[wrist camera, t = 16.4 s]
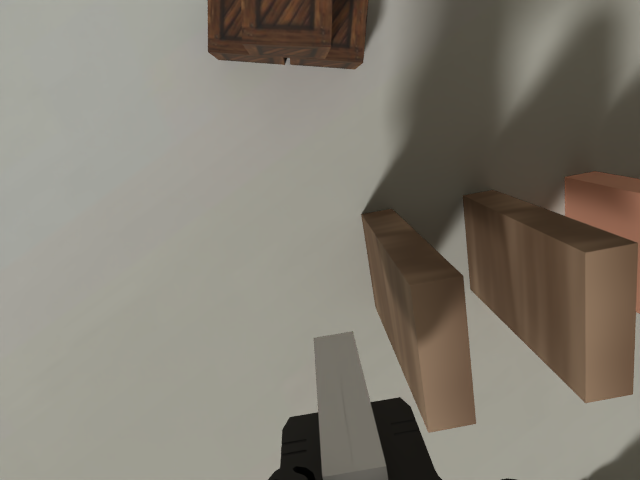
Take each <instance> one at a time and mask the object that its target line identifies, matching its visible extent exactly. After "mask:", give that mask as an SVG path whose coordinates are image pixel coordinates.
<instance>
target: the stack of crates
mask: <svg viewBox="0 0 640 480" xmlns="http://www.w3.org/2000/svg"><path fill="white" fill-rule="evenodd" d="M367 10H368V0H208V52H209V53H210V54H212V55H213V56H214V57H216V58H217V59H218V60H228V61H241V62H255V63H269V64H282V65H285V58H290V64H291V65H303V66H317V67H330V68H344V69H356V68H357V67H358V66H360V65H361V64H362V63H363V57H364V46H365V34H366V22H367Z"/></svg>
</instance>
